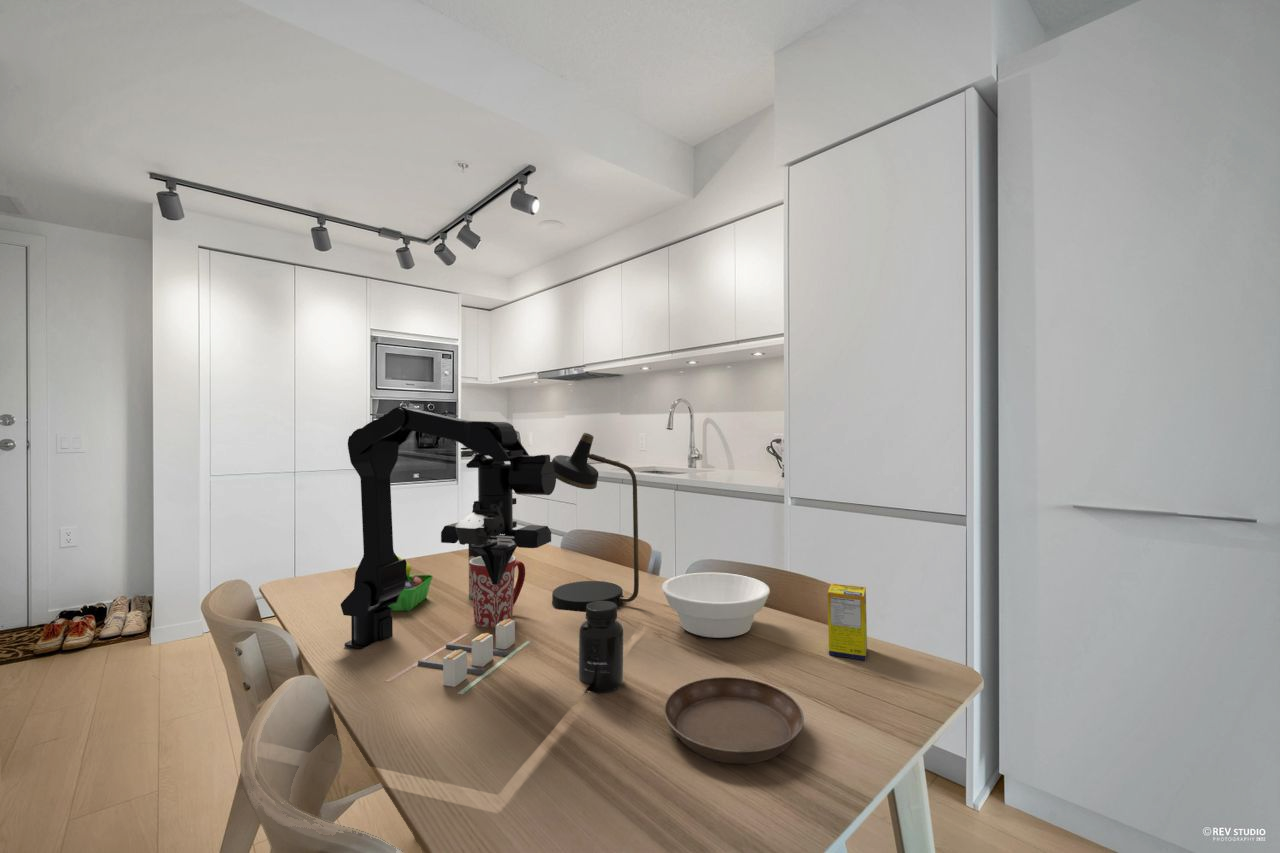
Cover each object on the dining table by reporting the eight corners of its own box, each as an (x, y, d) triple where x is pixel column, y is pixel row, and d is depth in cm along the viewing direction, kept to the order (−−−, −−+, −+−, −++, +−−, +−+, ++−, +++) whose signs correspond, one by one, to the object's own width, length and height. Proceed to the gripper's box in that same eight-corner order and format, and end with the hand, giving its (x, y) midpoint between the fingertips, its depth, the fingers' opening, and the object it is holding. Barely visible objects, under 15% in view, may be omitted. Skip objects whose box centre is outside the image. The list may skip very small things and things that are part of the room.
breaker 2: (495, 648, 93) (495, 624, 93) (505, 641, 96) (504, 618, 96) (505, 649, 92) (505, 625, 92) (514, 642, 95) (514, 619, 95)
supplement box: (867, 648, 94) (866, 586, 94) (866, 661, 89) (865, 595, 89) (831, 642, 97) (830, 582, 97) (828, 655, 91) (827, 591, 91)
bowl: (646, 640, 99) (645, 595, 99) (680, 605, 118) (680, 568, 119) (760, 657, 91) (760, 609, 91) (777, 617, 111) (777, 577, 111)
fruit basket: (413, 612, 115) (412, 560, 115) (372, 613, 115) (372, 560, 115) (434, 596, 127) (433, 548, 127) (397, 596, 127) (396, 549, 127)
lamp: (568, 587, 132) (567, 432, 133) (651, 596, 125) (649, 432, 125) (533, 607, 117) (532, 433, 118) (624, 619, 110) (623, 432, 110)
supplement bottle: (588, 698, 77) (588, 615, 77) (572, 679, 83) (571, 602, 83) (631, 687, 80) (630, 608, 81) (612, 669, 87) (611, 595, 87)
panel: (379, 692, 80) (378, 680, 80) (468, 637, 101) (468, 627, 101) (458, 705, 76) (458, 693, 76) (534, 645, 97) (534, 635, 97)
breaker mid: (471, 665, 86) (471, 639, 86) (482, 657, 89) (482, 632, 89) (482, 666, 85) (482, 640, 85) (493, 659, 88) (492, 633, 88)
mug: (489, 638, 100) (488, 567, 100) (460, 628, 105) (459, 560, 106) (539, 619, 110) (538, 554, 110) (510, 611, 116) (510, 548, 116)
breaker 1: (443, 685, 79) (443, 656, 79) (455, 676, 82) (455, 648, 82) (454, 686, 79) (454, 658, 79) (467, 677, 82) (466, 650, 82)
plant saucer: (707, 793, 57) (707, 764, 57) (643, 713, 74) (642, 691, 74) (835, 752, 64) (835, 727, 64) (750, 688, 81) (750, 667, 81)
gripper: (418, 498, 87) (419, 593, 87) (519, 501, 82) (520, 603, 82) (460, 490, 98) (461, 575, 98) (552, 493, 92) (553, 583, 92)
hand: (496, 584), depth 92 cm, fingers closed
